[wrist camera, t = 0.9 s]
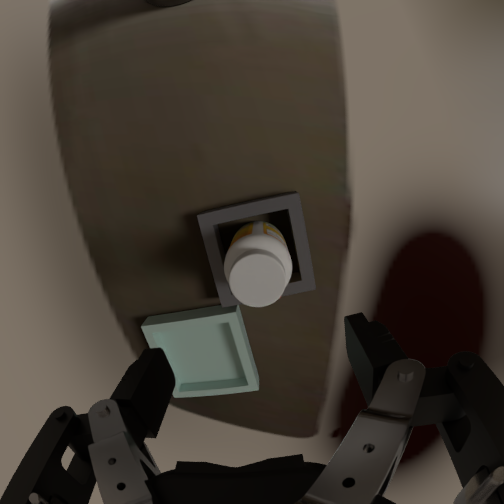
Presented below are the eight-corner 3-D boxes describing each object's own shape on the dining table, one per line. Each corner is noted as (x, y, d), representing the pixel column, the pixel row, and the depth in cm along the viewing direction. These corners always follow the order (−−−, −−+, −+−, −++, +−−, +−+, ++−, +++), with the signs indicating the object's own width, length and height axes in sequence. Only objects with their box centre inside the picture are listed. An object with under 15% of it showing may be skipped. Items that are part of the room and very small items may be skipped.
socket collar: (202, 211, 28) (195, 216, 25) (295, 191, 27) (299, 193, 24) (225, 297, 30) (221, 309, 27) (311, 280, 30) (316, 291, 27)
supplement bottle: (232, 271, 30) (219, 316, 20) (231, 220, 28) (216, 243, 19) (284, 272, 29) (294, 316, 20) (286, 220, 28) (298, 243, 19)
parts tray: (148, 316, 31) (140, 326, 29) (237, 301, 30) (235, 312, 28) (178, 385, 34) (174, 397, 32) (259, 377, 33) (258, 390, 31)
